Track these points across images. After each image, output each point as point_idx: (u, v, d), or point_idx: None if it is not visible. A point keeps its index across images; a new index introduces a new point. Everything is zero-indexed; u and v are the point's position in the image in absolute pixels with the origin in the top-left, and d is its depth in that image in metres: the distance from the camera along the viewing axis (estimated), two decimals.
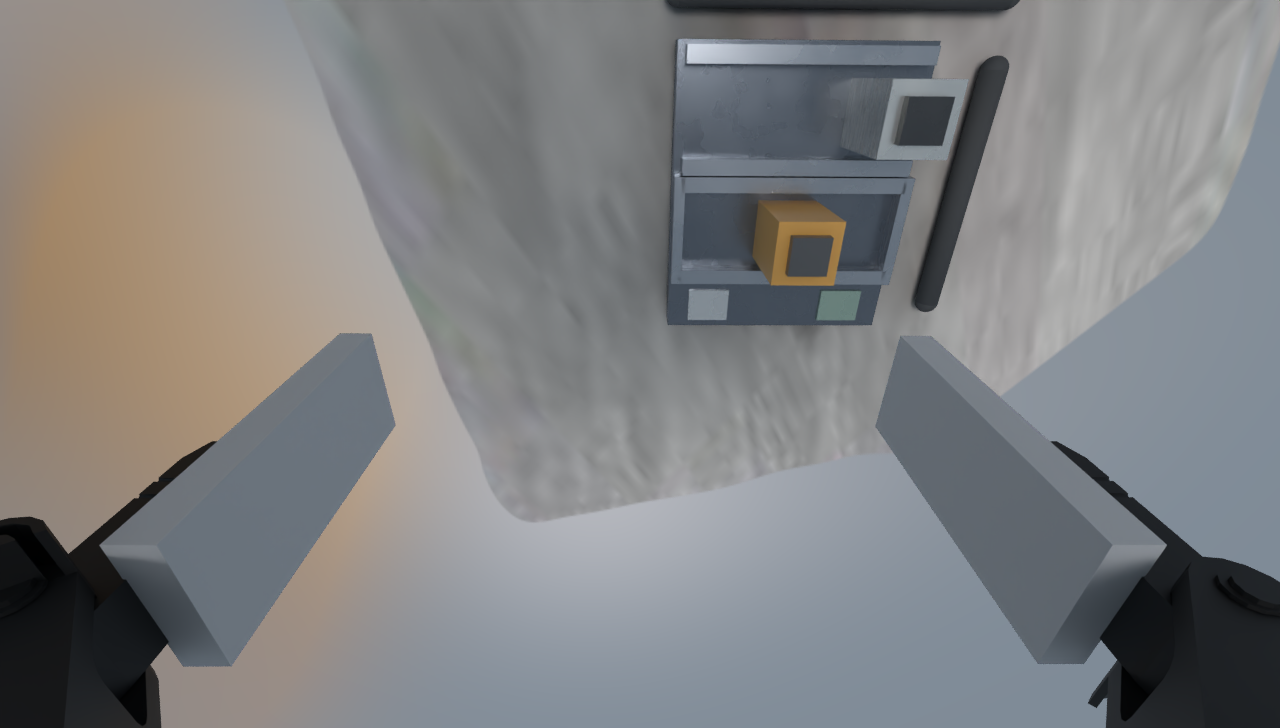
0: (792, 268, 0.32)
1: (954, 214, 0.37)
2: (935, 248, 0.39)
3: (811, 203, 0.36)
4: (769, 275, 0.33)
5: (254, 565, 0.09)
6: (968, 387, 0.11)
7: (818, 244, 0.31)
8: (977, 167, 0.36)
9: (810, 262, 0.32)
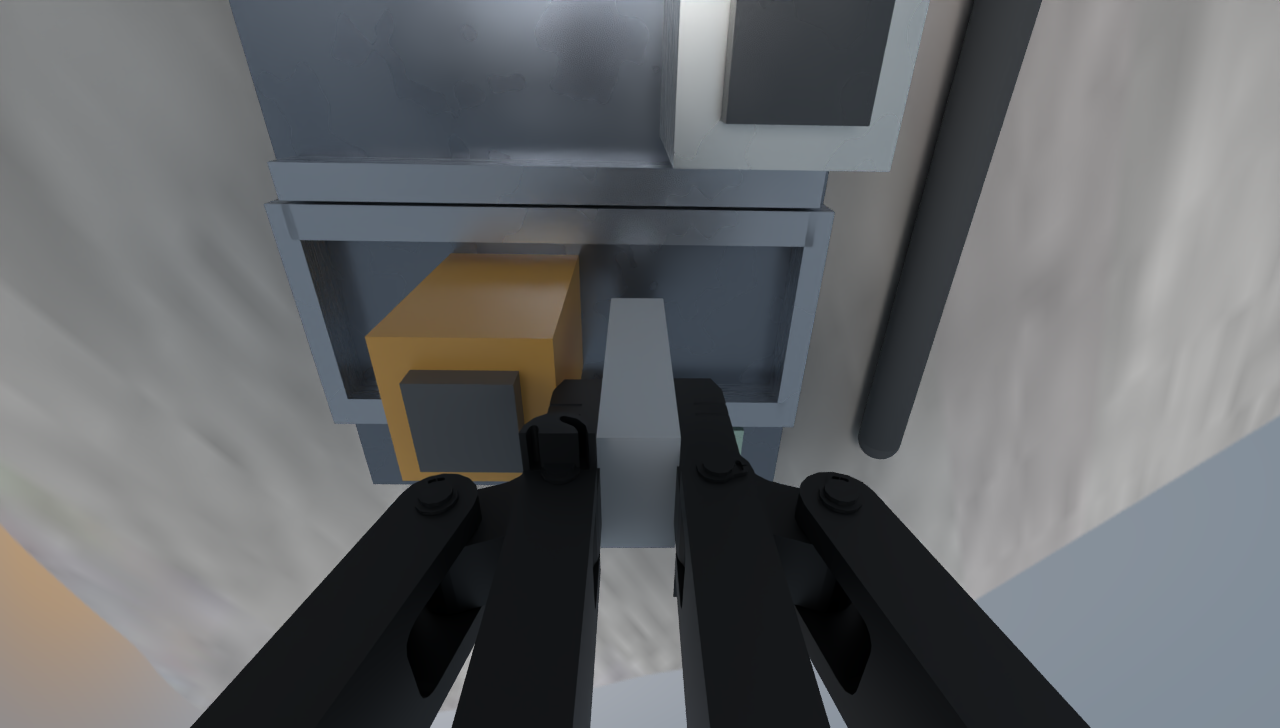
0: (426, 454, 0.12)
1: (930, 285, 0.18)
2: (892, 348, 0.19)
3: (555, 264, 0.16)
4: None
5: None
6: (649, 335, 0.13)
7: (475, 400, 0.11)
8: (979, 186, 0.16)
9: (468, 442, 0.12)
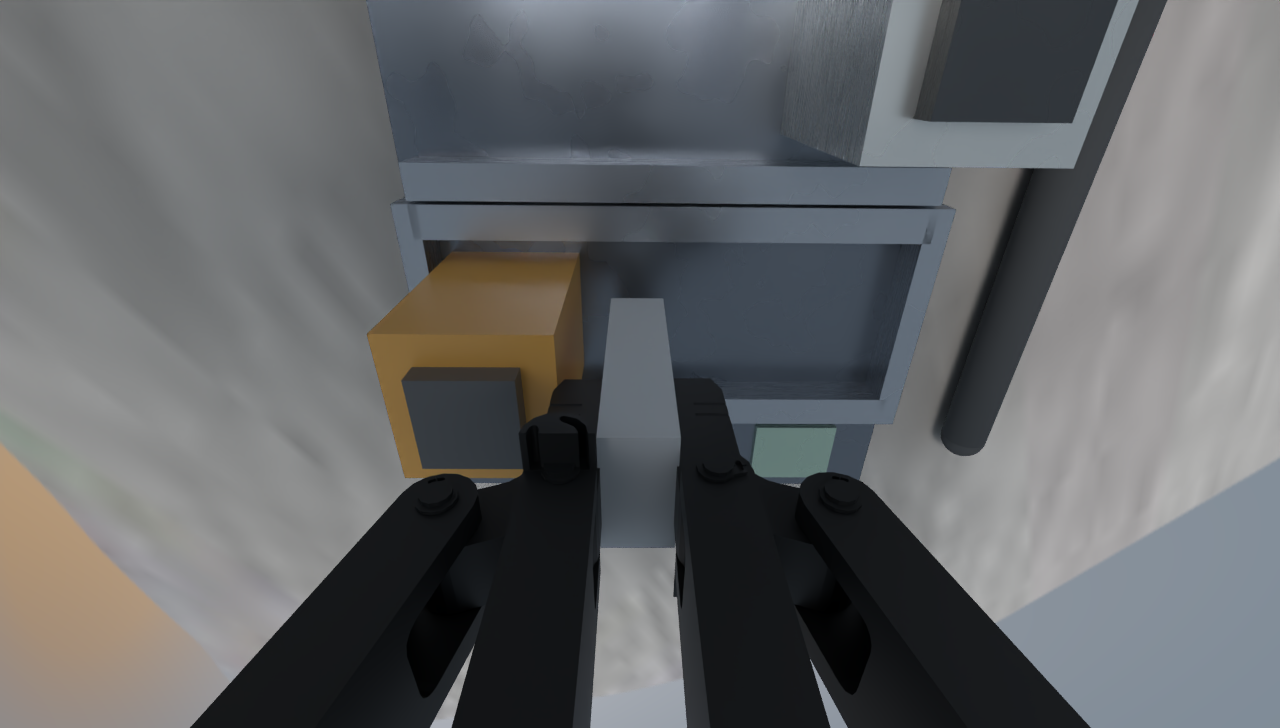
0: (428, 451, 0.12)
1: (1032, 282, 0.18)
2: (986, 345, 0.19)
3: (556, 261, 0.16)
4: None
5: None
6: (650, 335, 0.13)
7: (477, 396, 0.11)
8: (1090, 183, 0.16)
9: (470, 438, 0.12)
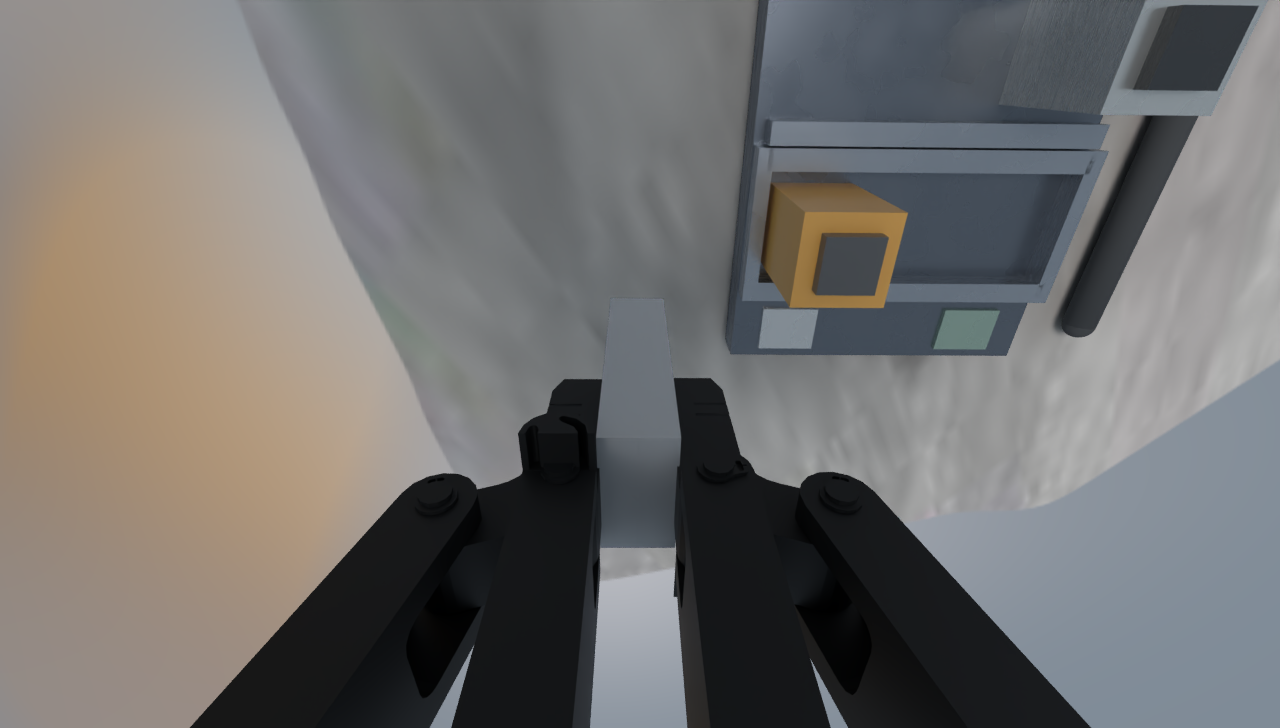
0: (823, 283, 0.21)
1: (1143, 205, 0.27)
2: (1105, 252, 0.28)
3: (846, 186, 0.25)
4: (787, 292, 0.23)
5: None
6: (650, 335, 0.13)
7: (864, 247, 0.20)
8: (1187, 137, 0.25)
9: (851, 275, 0.21)
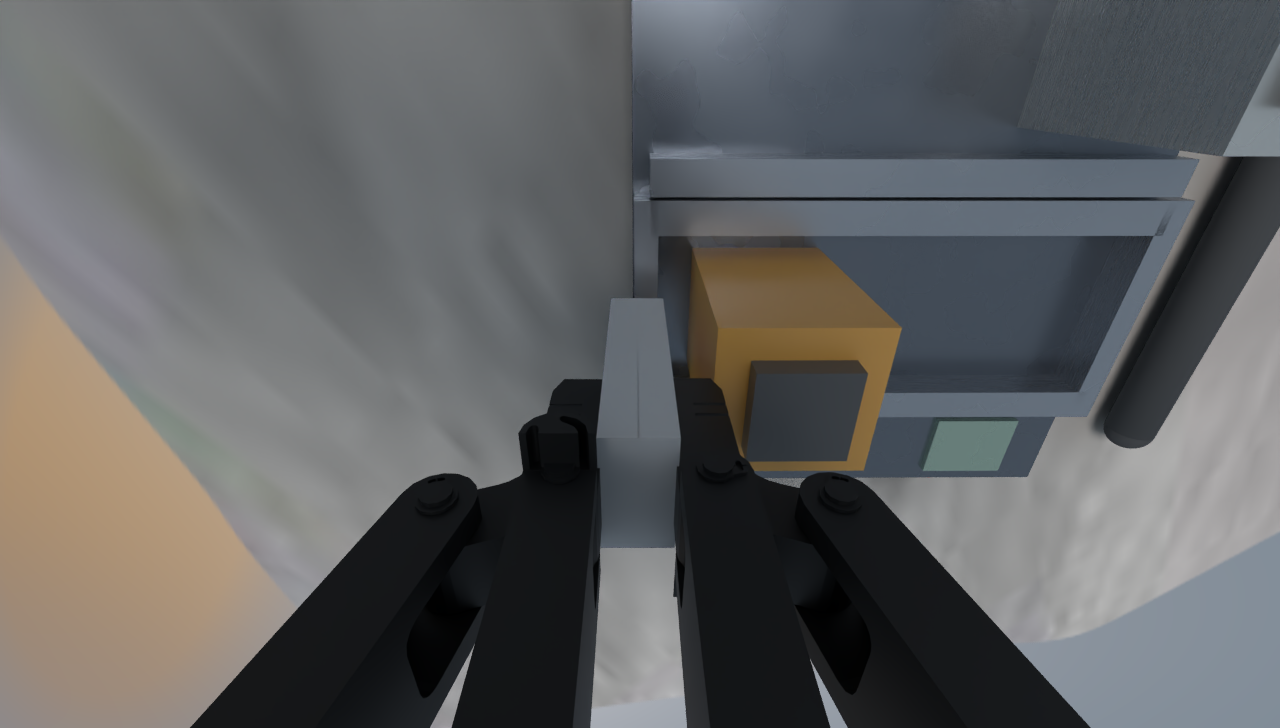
0: (757, 443, 0.12)
1: (1235, 273, 0.18)
2: (1173, 337, 0.19)
3: (807, 256, 0.16)
4: None
5: None
6: (649, 335, 0.13)
7: (825, 389, 0.11)
8: None
9: (803, 431, 0.12)
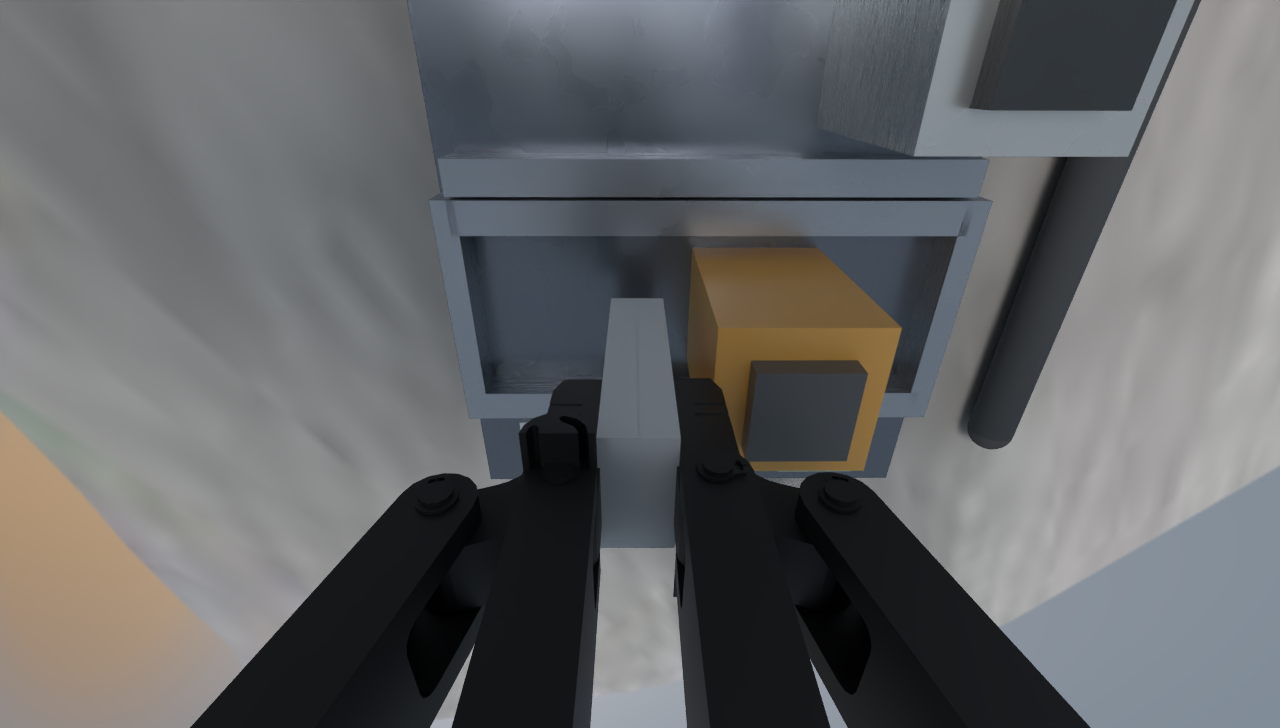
0: (757, 443, 0.12)
1: (1064, 274, 0.18)
2: (1016, 338, 0.19)
3: (808, 257, 0.16)
4: None
5: None
6: (650, 335, 0.13)
7: (825, 389, 0.11)
8: (1124, 173, 0.16)
9: (803, 431, 0.12)
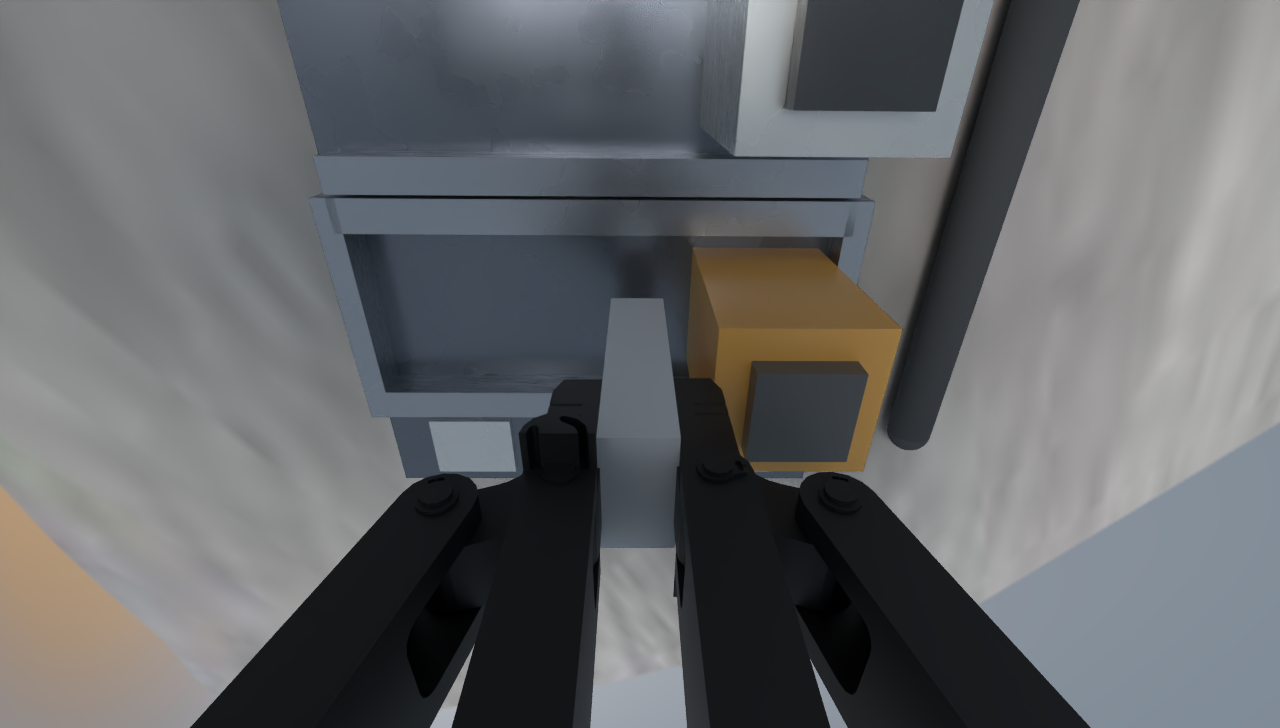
0: (757, 444, 0.12)
1: (964, 275, 0.18)
2: (925, 339, 0.19)
3: (808, 257, 0.16)
4: None
5: None
6: (649, 335, 0.13)
7: (826, 389, 0.11)
8: (1017, 175, 0.16)
9: (803, 432, 0.12)
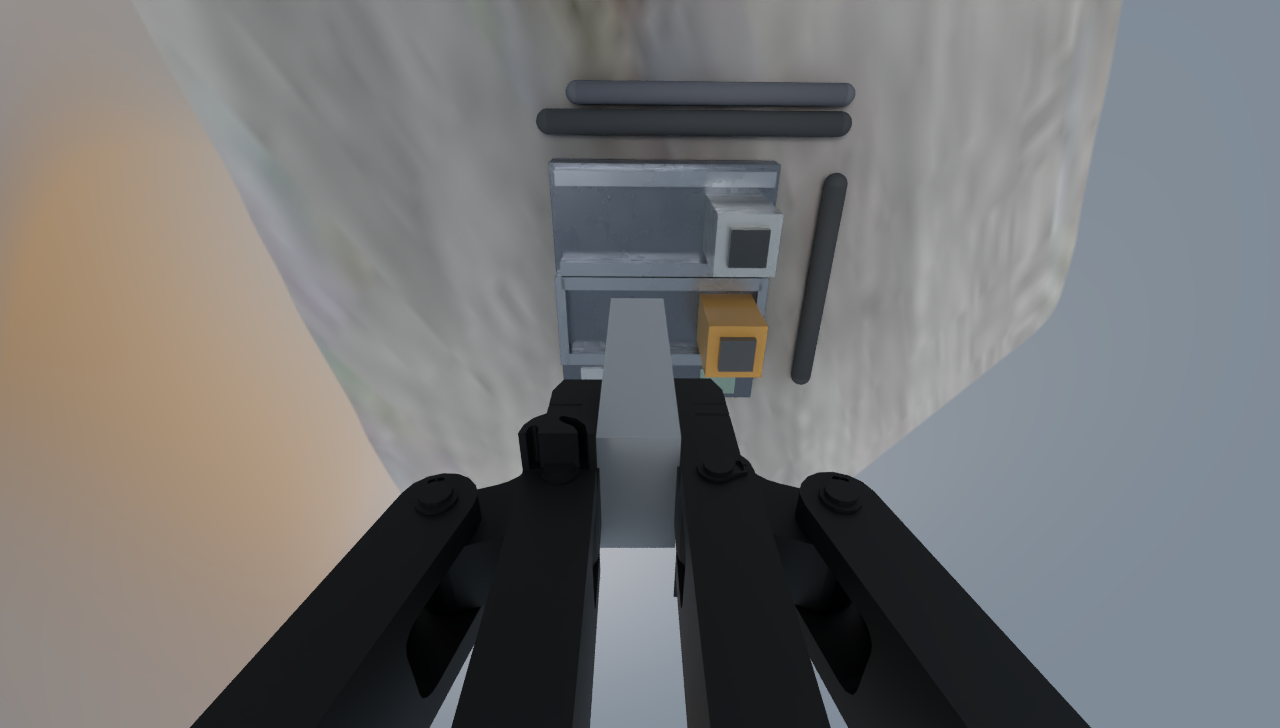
0: (722, 365, 0.36)
1: (814, 304, 0.42)
2: (801, 331, 0.43)
3: (745, 298, 0.40)
4: (704, 367, 0.38)
5: None
6: (650, 335, 0.13)
7: (743, 346, 0.36)
8: (829, 265, 0.40)
9: (737, 360, 0.36)
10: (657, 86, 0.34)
